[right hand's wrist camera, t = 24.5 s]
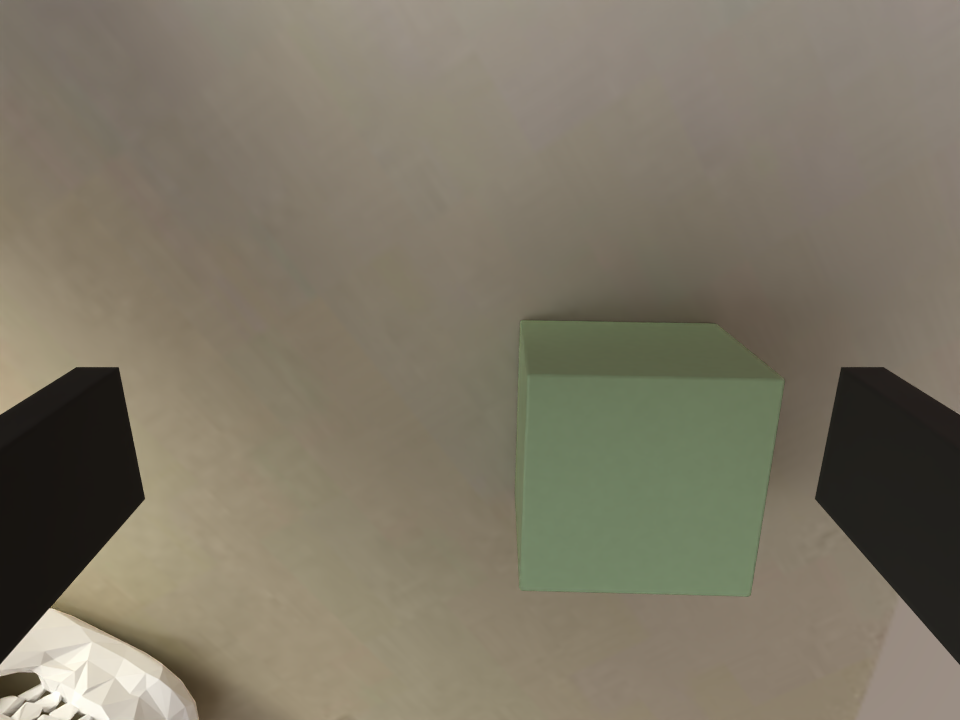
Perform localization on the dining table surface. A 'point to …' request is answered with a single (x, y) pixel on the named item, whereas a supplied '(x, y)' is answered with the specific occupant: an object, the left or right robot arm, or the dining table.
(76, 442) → the right robot arm
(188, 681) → the dining table surface
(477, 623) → the dining table surface
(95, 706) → the skull
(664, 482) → the sage green cube
